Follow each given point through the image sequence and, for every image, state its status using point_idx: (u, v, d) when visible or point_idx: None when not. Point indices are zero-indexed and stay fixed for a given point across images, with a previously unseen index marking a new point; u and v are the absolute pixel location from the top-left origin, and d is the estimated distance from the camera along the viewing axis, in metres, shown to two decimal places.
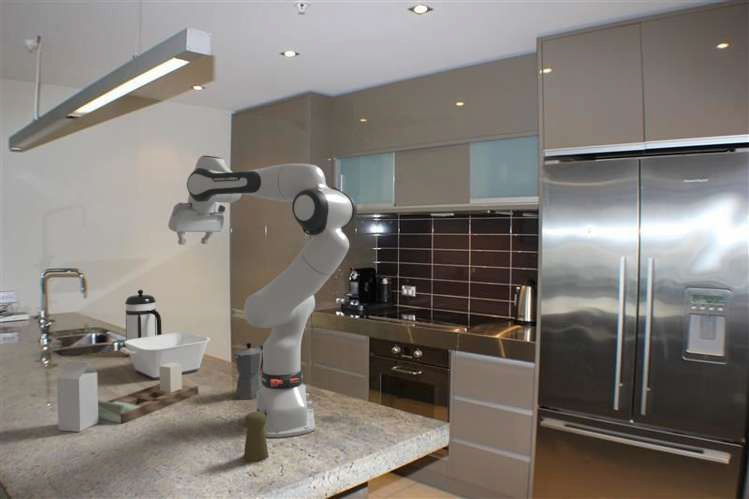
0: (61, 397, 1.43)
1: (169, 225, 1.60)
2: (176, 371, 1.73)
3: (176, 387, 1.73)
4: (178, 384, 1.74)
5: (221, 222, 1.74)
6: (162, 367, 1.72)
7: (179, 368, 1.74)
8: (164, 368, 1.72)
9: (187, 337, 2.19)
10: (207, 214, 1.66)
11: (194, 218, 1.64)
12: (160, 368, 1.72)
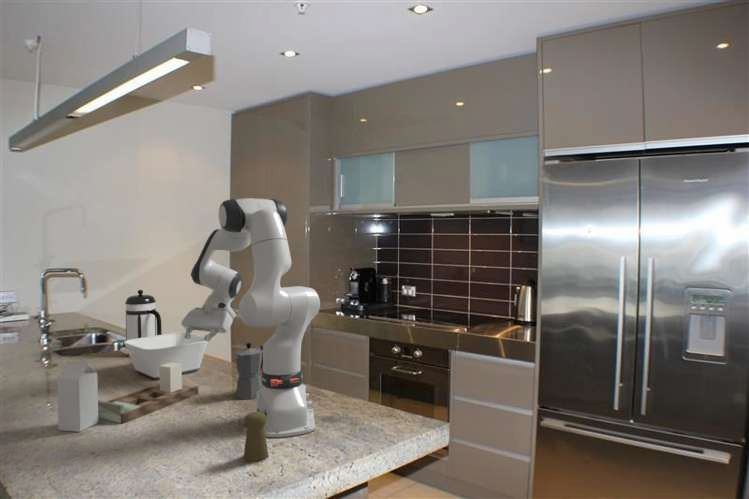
0: (61, 397, 1.43)
1: None
2: (176, 371, 1.73)
3: (176, 387, 1.73)
4: (178, 384, 1.74)
5: (222, 319, 1.85)
6: (162, 367, 1.72)
7: (179, 368, 1.74)
8: (164, 368, 1.72)
9: None
10: (208, 309, 1.89)
11: (200, 315, 1.91)
12: (160, 368, 1.72)
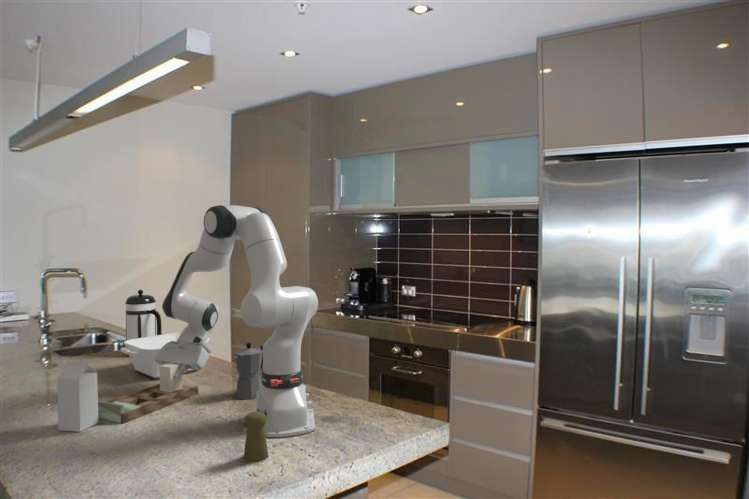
0: (61, 397, 1.43)
1: None
2: (176, 371, 1.73)
3: (176, 387, 1.73)
4: (178, 384, 1.74)
5: (197, 355, 1.74)
6: (162, 367, 1.72)
7: (179, 368, 1.74)
8: (164, 368, 1.72)
9: None
10: (182, 344, 1.78)
11: (174, 350, 1.80)
12: (160, 368, 1.72)
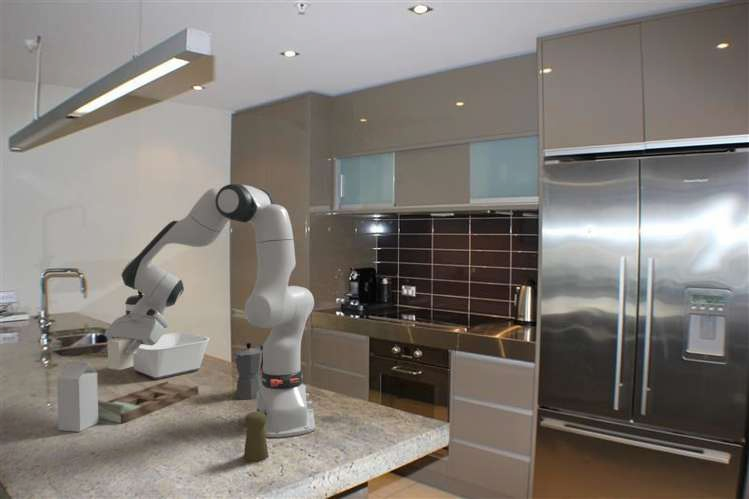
0: (61, 397, 1.43)
1: None
2: None
3: (127, 364, 1.55)
4: (129, 361, 1.56)
5: (150, 329, 1.56)
6: (110, 342, 1.54)
7: (130, 343, 1.56)
8: (112, 343, 1.54)
9: (185, 337, 2.19)
10: (135, 317, 1.60)
11: (126, 324, 1.62)
12: (108, 343, 1.55)
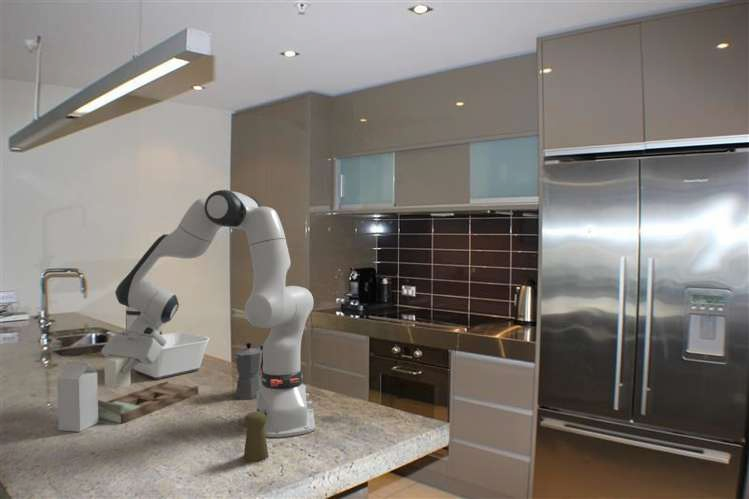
0: (61, 397, 1.43)
1: None
2: None
3: (124, 383, 1.55)
4: (126, 380, 1.55)
5: (147, 348, 1.55)
6: (107, 361, 1.53)
7: (127, 362, 1.56)
8: (109, 362, 1.53)
9: (185, 337, 2.19)
10: (132, 335, 1.59)
11: (123, 342, 1.61)
12: (105, 362, 1.54)
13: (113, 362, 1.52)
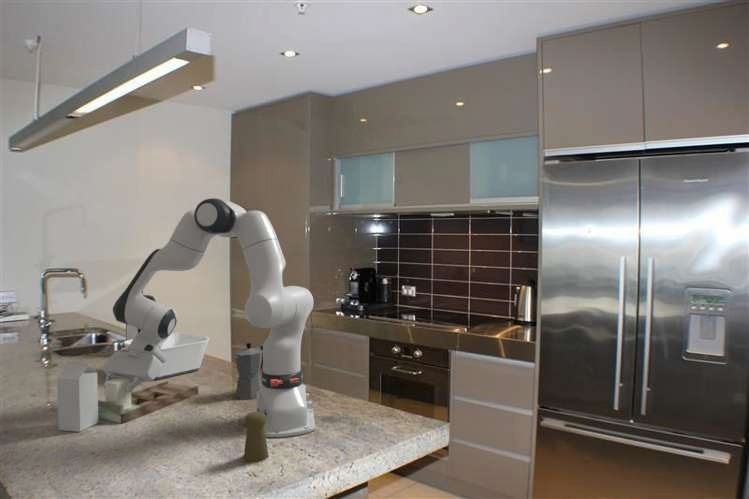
0: (61, 397, 1.43)
1: None
2: None
3: (125, 405, 1.55)
4: (127, 402, 1.55)
5: (147, 365, 1.55)
6: (108, 383, 1.53)
7: (128, 384, 1.56)
8: (110, 385, 1.53)
9: (185, 337, 2.19)
10: (132, 352, 1.59)
11: (124, 359, 1.61)
12: (106, 384, 1.54)
13: (114, 385, 1.52)
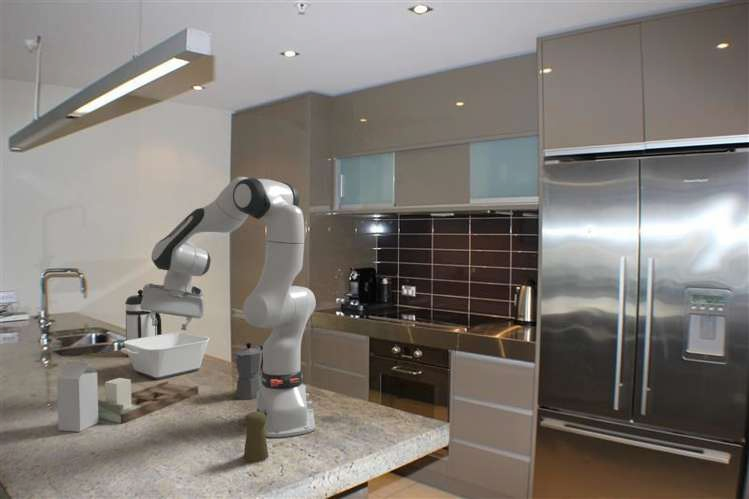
0: (61, 397, 1.43)
1: (140, 306, 1.68)
2: (125, 388, 1.55)
3: (125, 405, 1.55)
4: (127, 402, 1.55)
5: (200, 307, 1.75)
6: (108, 383, 1.53)
7: (128, 384, 1.56)
8: (110, 385, 1.53)
9: (184, 337, 2.19)
10: (178, 294, 1.72)
11: (165, 298, 1.70)
12: (106, 384, 1.54)
13: (114, 385, 1.52)
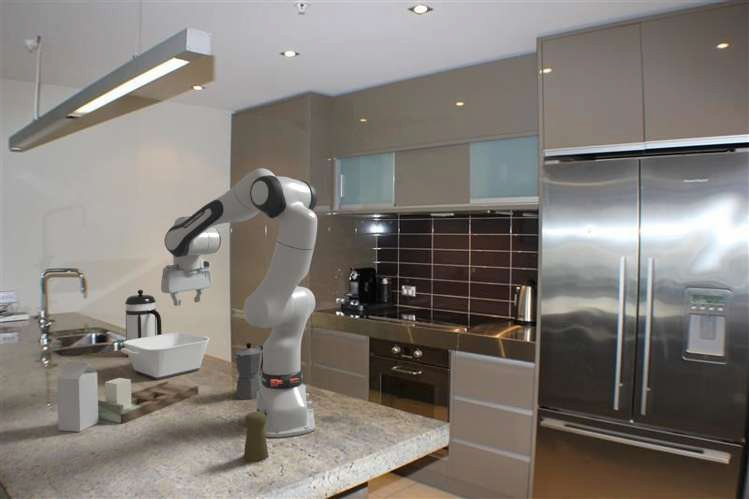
0: (61, 397, 1.43)
1: (162, 289, 1.67)
2: (125, 388, 1.55)
3: (125, 405, 1.55)
4: (127, 402, 1.55)
5: (209, 278, 1.83)
6: (108, 383, 1.53)
7: (128, 384, 1.56)
8: (110, 385, 1.53)
9: (184, 337, 2.19)
10: (194, 271, 1.75)
11: (183, 277, 1.72)
12: (106, 384, 1.54)
13: (114, 385, 1.52)
